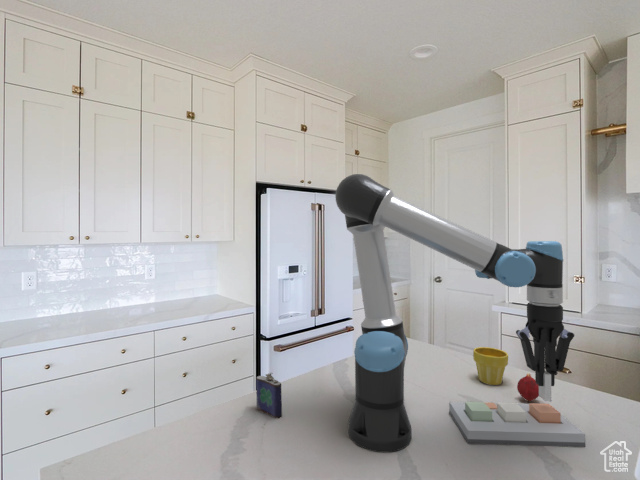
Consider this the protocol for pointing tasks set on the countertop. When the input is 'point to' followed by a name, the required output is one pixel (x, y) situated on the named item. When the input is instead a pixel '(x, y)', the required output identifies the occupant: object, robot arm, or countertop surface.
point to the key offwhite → (511, 412)
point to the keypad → (515, 429)
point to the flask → (269, 396)
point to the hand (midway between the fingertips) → (545, 398)
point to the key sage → (478, 411)
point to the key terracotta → (544, 413)
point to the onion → (528, 388)
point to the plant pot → (490, 364)
